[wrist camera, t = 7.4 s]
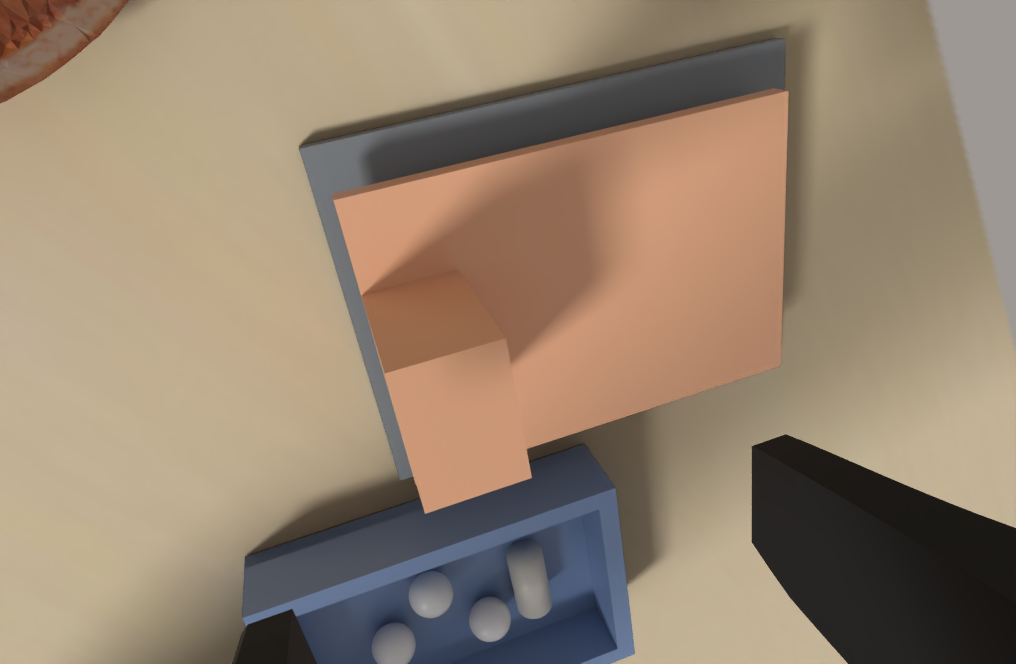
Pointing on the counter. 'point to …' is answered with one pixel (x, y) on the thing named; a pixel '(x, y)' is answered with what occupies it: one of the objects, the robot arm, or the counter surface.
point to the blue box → (463, 577)
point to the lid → (571, 284)
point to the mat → (508, 130)
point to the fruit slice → (46, 37)
